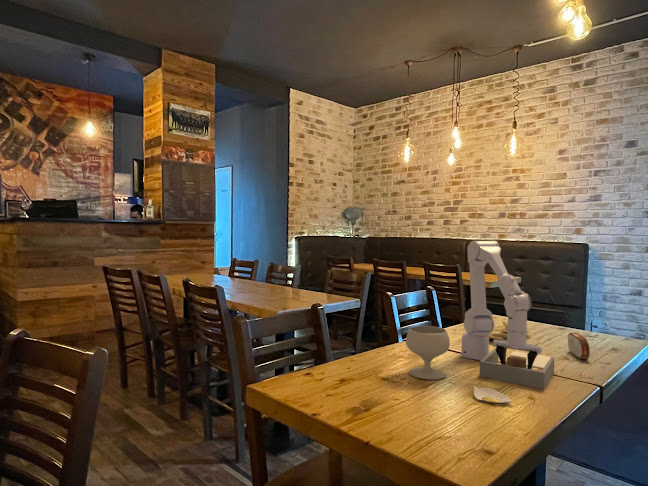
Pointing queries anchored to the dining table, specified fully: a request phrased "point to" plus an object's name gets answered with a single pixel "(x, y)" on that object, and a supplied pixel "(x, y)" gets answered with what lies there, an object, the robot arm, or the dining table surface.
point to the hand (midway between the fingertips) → (516, 371)
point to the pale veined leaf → (491, 395)
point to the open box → (515, 372)
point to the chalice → (427, 349)
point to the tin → (578, 345)
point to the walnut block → (516, 361)
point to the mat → (539, 360)
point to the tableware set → (501, 335)
